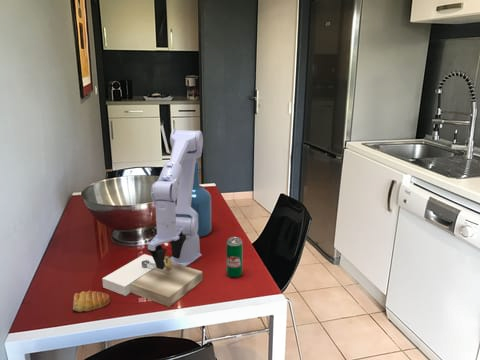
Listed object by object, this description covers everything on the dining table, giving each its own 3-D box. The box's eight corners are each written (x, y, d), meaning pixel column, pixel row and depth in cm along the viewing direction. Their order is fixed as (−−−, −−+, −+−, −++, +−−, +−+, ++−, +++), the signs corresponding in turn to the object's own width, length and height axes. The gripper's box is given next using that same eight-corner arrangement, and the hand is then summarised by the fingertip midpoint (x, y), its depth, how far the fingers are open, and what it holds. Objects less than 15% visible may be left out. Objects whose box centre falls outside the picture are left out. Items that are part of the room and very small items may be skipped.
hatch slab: (166, 269, 128) (166, 260, 127) (202, 280, 122) (202, 271, 121) (131, 292, 115) (130, 283, 114) (169, 306, 108) (168, 297, 107)
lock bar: (140, 266, 123) (139, 251, 122) (145, 263, 125) (144, 248, 124) (168, 275, 118) (167, 259, 117) (173, 271, 120) (173, 256, 119)
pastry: (110, 295, 113) (108, 284, 112) (109, 309, 107) (108, 297, 106) (75, 301, 111) (73, 289, 110) (72, 315, 105) (70, 302, 104)
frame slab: (144, 262, 132) (144, 254, 132) (166, 268, 128) (165, 260, 127) (103, 287, 117) (102, 278, 116) (125, 295, 113) (124, 286, 112)
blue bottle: (208, 239, 149) (207, 162, 141) (174, 238, 151) (171, 161, 143) (214, 225, 163) (213, 154, 154) (183, 224, 164) (180, 153, 156)
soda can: (225, 277, 123) (224, 242, 120) (227, 269, 128) (227, 235, 125) (241, 279, 122) (241, 243, 119) (243, 271, 127) (243, 236, 124)
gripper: (160, 232, 107) (163, 277, 111) (192, 215, 119) (193, 256, 123) (141, 227, 110) (144, 270, 114) (173, 211, 122) (175, 250, 126)
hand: (168, 262), depth 119 cm, fingers open, 7 cm apart
